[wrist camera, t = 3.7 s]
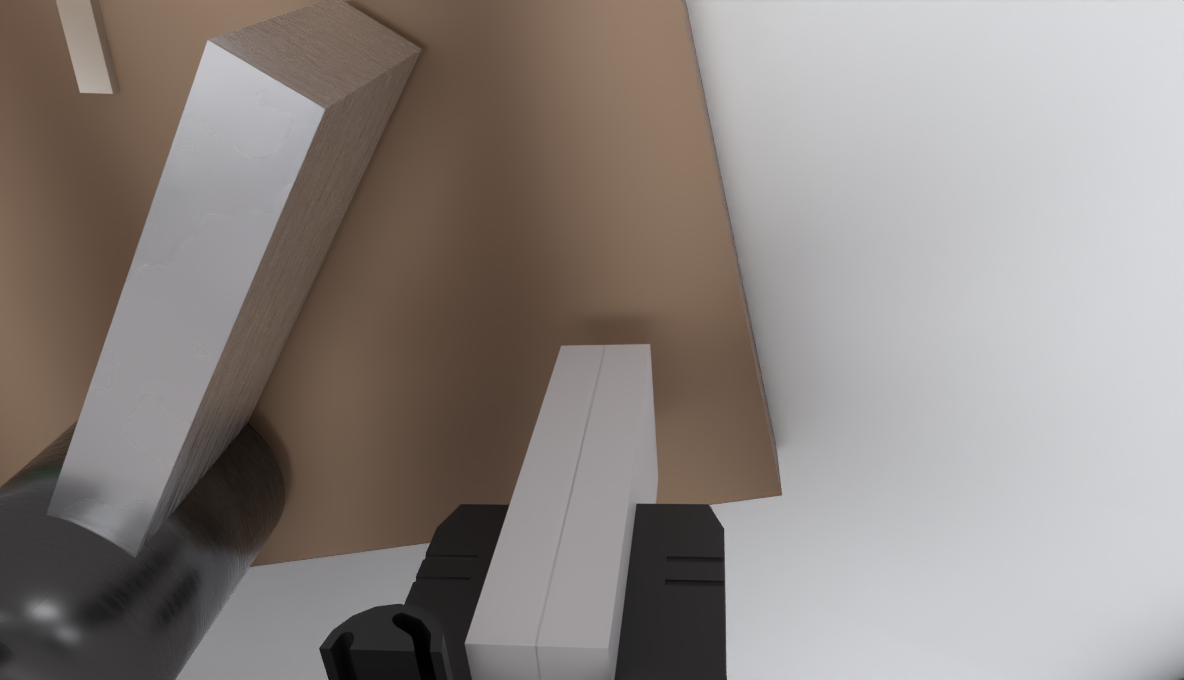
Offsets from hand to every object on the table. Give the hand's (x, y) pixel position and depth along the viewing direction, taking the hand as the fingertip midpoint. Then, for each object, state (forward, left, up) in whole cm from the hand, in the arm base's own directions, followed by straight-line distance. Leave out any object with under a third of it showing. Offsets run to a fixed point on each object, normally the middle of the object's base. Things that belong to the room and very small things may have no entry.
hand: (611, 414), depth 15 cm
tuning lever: (-7, +2, -1) cm, 7 cm away
